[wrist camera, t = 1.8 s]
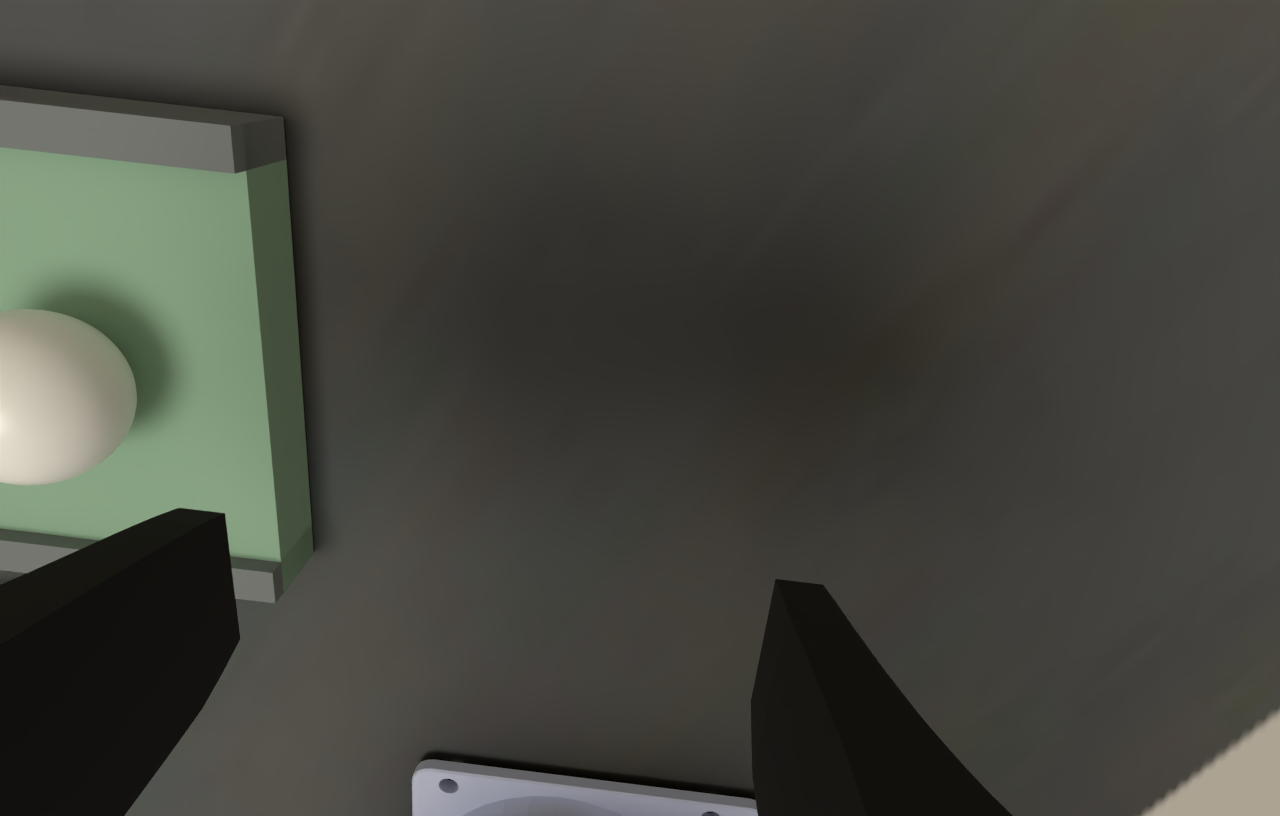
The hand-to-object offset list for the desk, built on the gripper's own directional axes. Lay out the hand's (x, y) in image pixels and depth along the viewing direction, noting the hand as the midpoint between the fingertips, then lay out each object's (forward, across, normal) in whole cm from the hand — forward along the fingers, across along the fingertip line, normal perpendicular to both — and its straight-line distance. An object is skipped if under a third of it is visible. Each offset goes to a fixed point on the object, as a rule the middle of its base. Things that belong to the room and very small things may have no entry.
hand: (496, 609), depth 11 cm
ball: (+4, +10, 0) cm, 11 cm away
